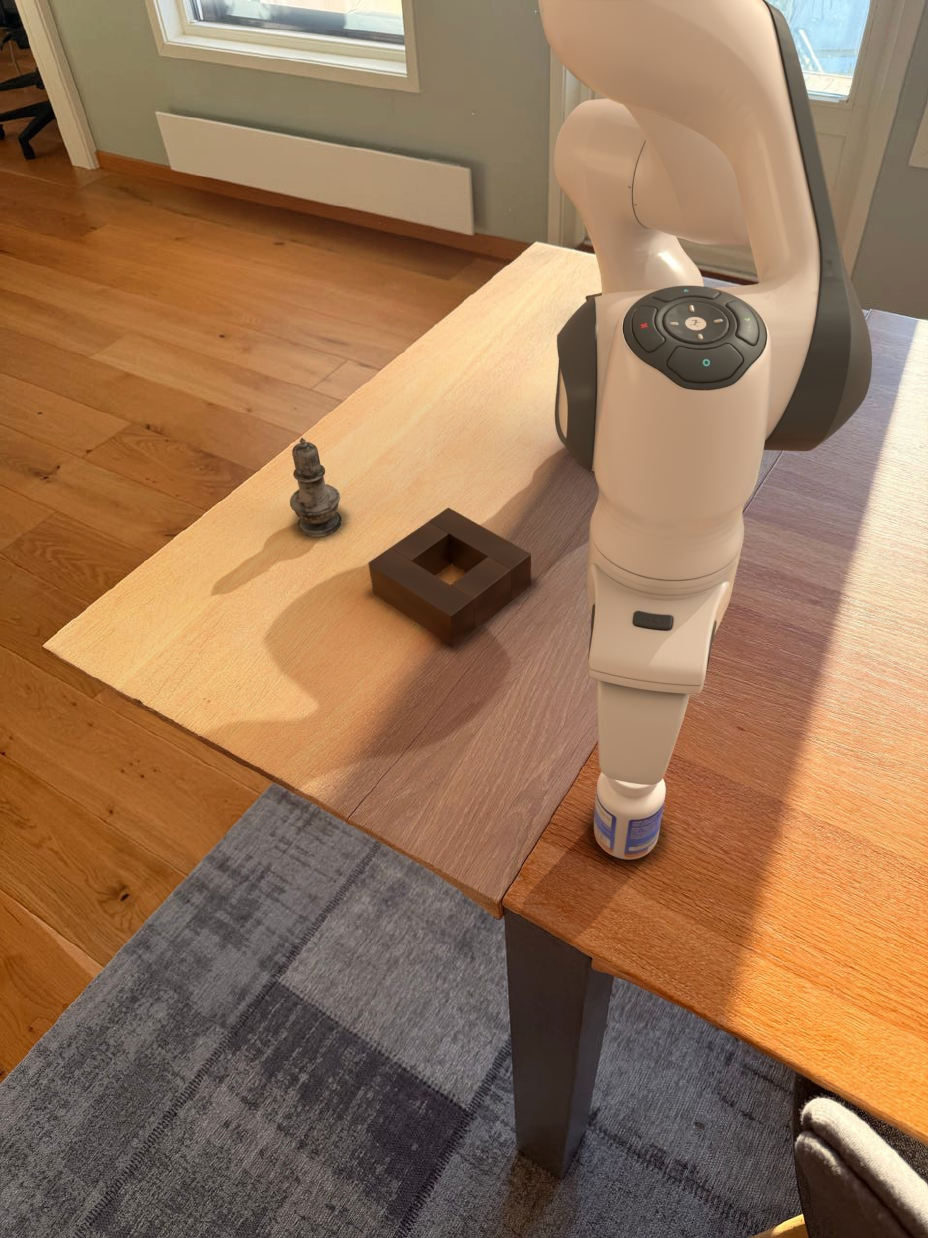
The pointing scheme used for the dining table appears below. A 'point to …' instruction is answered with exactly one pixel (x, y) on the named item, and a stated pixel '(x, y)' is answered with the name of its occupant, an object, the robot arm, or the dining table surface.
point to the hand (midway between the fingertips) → (639, 711)
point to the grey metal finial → (313, 494)
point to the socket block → (471, 598)
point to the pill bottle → (628, 816)
